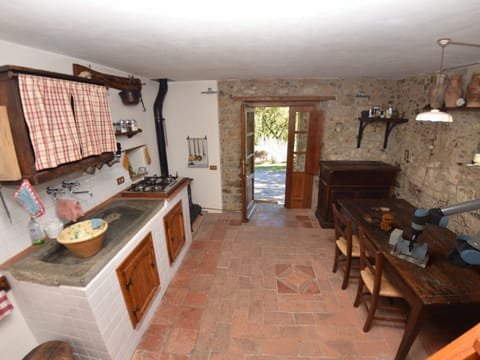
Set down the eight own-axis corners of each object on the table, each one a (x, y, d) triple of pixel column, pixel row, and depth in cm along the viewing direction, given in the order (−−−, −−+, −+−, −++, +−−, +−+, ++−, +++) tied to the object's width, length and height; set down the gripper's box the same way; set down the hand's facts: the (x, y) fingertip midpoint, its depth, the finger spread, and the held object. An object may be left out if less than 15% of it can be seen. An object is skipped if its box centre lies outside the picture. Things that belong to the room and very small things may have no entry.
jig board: (428, 259, 175) (430, 252, 173) (424, 268, 165) (426, 261, 163) (395, 246, 191) (397, 240, 190) (389, 253, 181) (391, 247, 180)
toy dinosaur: (385, 232, 212) (389, 216, 207) (376, 227, 222) (379, 211, 217) (394, 231, 215) (398, 215, 210) (384, 226, 225) (388, 210, 220)
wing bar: (400, 240, 201) (403, 230, 198) (396, 246, 192) (399, 236, 189) (393, 237, 205) (395, 228, 202) (388, 243, 196) (391, 233, 193)
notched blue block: (423, 256, 174) (428, 242, 170) (423, 260, 169) (428, 246, 165) (397, 247, 186) (400, 233, 181) (396, 251, 180) (399, 237, 176)
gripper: (414, 222, 179) (407, 245, 186) (408, 230, 166) (401, 255, 173) (425, 225, 174) (418, 249, 181) (420, 234, 161) (412, 259, 168)
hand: (410, 252), depth 177 cm, fingers closed on notched blue block, 7 cm apart
